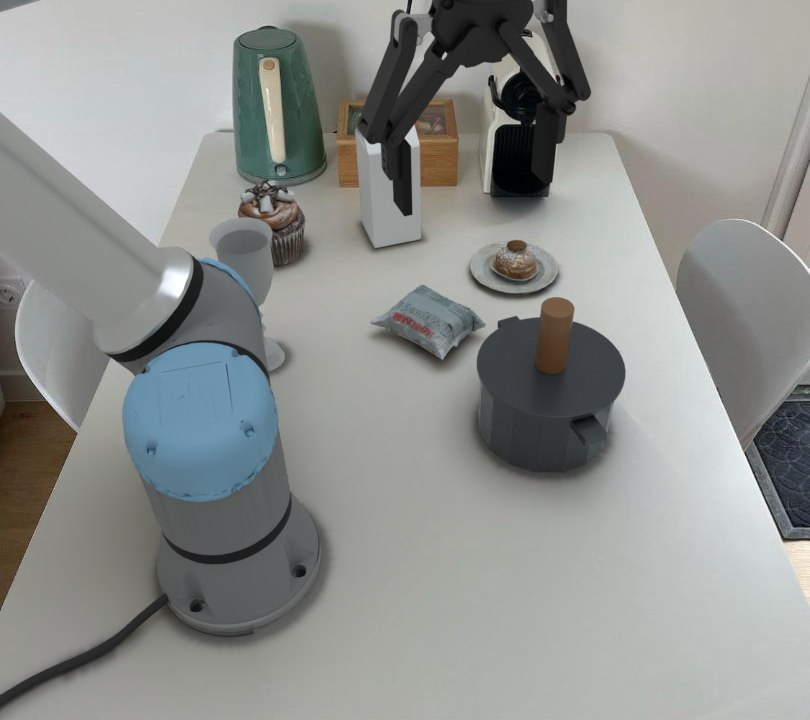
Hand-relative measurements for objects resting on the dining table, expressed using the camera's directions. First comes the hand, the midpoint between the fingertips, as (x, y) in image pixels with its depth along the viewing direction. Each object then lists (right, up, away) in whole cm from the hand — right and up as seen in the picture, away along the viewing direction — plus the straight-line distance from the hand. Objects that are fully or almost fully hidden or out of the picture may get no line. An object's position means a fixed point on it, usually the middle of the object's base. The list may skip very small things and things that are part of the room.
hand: (473, 192), depth 73 cm
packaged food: (-3, -12, +29) cm, 32 cm away
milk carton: (-8, +4, +47) cm, 48 cm away
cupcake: (-25, +1, +44) cm, 51 cm away
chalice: (-23, -15, +27) cm, 39 cm away
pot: (+9, -22, +18) cm, 30 cm away
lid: (+9, -16, +12) cm, 22 cm away
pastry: (+9, -3, +39) cm, 40 cm away
